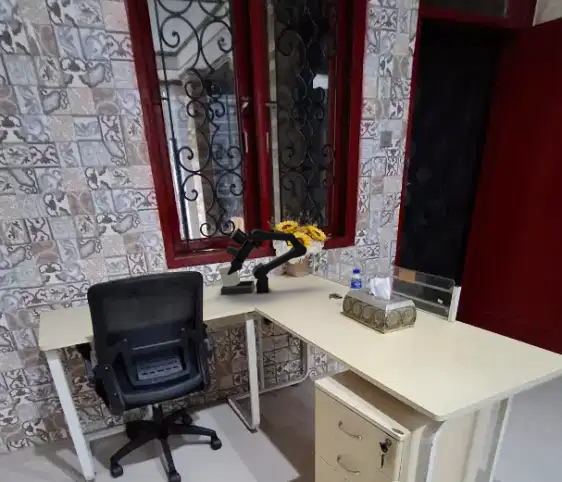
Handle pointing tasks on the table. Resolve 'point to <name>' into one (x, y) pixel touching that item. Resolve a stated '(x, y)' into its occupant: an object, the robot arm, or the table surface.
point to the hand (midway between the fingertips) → (228, 272)
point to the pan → (239, 288)
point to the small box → (228, 276)
